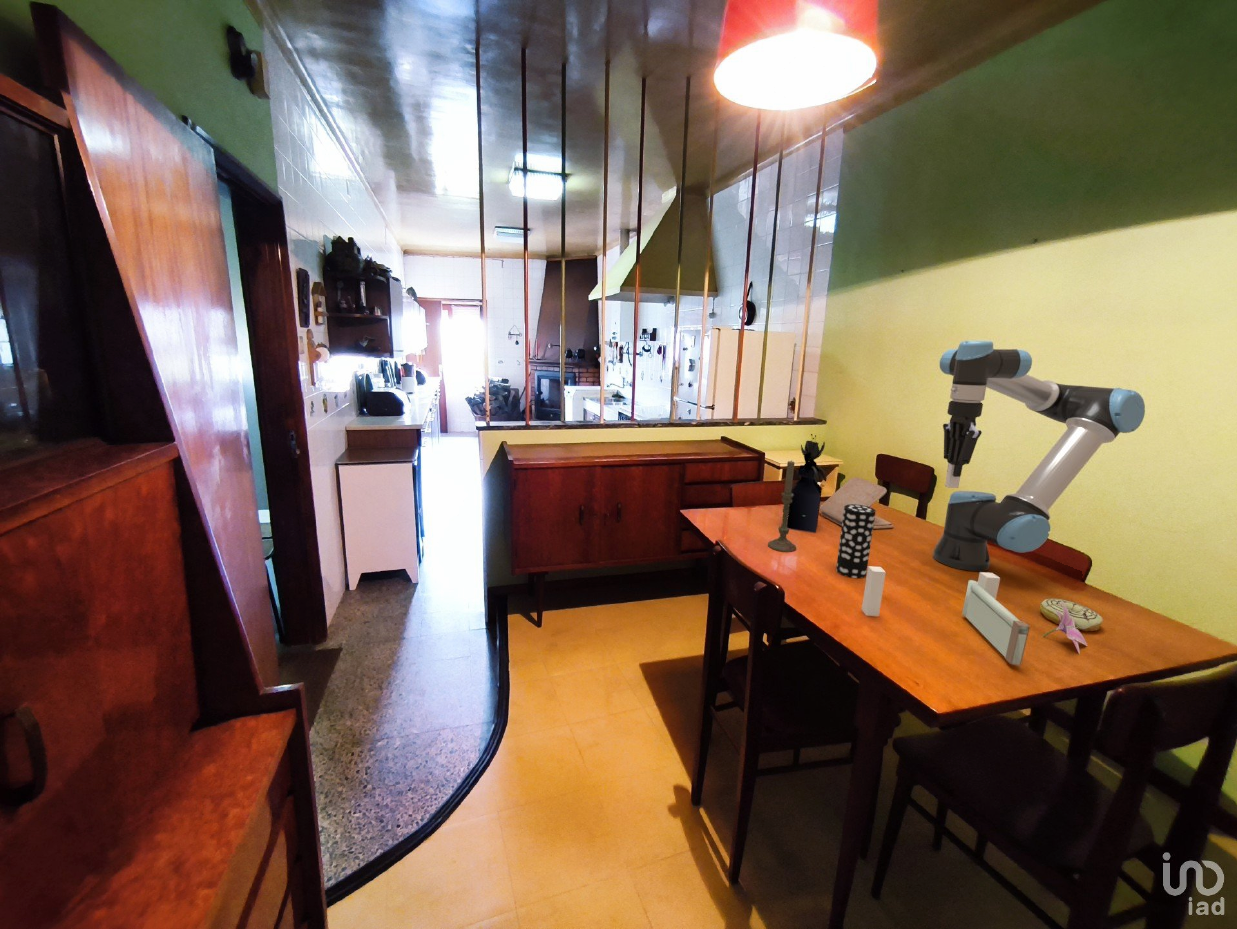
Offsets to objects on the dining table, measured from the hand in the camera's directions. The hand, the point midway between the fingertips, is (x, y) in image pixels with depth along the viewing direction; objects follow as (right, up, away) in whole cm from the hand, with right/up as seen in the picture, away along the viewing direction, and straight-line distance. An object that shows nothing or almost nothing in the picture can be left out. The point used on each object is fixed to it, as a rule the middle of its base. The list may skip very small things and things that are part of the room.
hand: (951, 487), depth 141 cm
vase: (-22, -17, +52) cm, 59 cm away
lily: (+12, -36, -22) cm, 43 cm away
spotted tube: (-22, -26, +13) cm, 37 cm away
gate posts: (-14, -32, -12) cm, 37 cm away
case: (+1, -16, +61) cm, 63 cm away
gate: (-6, -34, -22) cm, 41 cm away
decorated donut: (+22, -34, -12) cm, 42 cm away
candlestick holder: (-37, -22, +32) cm, 53 cm away
